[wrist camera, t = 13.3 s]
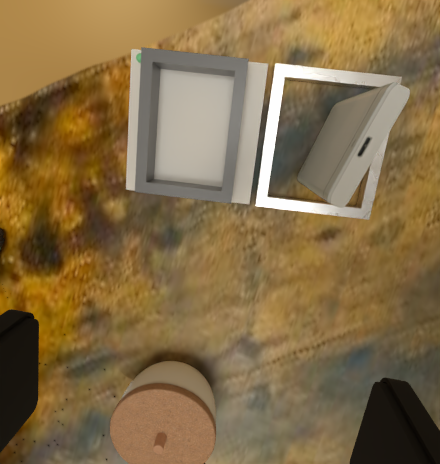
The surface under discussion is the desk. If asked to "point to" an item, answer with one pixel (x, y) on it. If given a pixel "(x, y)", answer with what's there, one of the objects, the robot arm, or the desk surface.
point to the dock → (193, 124)
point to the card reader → (1, 238)
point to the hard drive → (351, 142)
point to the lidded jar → (165, 417)
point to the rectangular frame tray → (279, 75)
